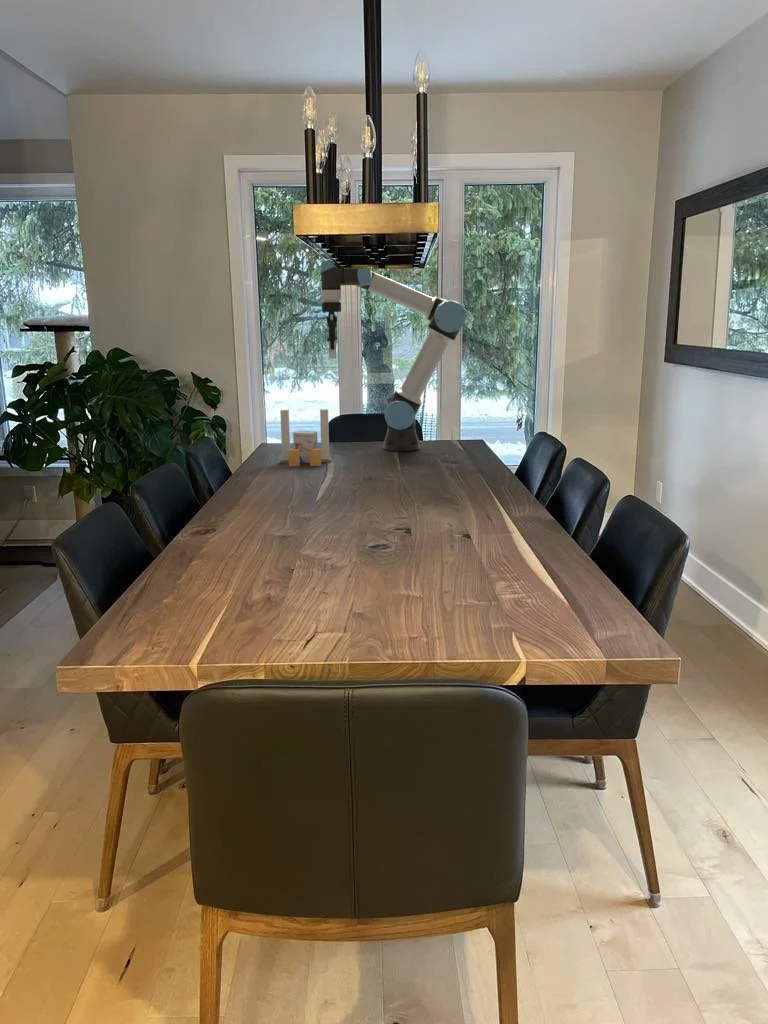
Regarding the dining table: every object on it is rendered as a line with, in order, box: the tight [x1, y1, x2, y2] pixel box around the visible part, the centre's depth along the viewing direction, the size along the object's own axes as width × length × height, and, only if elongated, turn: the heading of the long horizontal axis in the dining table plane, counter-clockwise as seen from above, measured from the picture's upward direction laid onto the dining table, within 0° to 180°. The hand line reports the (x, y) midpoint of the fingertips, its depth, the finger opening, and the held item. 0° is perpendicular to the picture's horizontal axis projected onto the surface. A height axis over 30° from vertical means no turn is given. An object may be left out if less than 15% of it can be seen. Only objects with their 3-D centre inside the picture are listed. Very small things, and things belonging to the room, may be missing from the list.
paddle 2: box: [309, 448, 322, 467], centre depth 289 cm, size 4×3×6 cm
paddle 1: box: [288, 448, 301, 467], centre depth 289 cm, size 4×3×6 cm
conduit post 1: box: [279, 409, 291, 464], centre depth 293 cm, size 4×4×20 cm
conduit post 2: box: [319, 408, 332, 463], centre depth 294 cm, size 4×4×20 cm
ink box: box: [292, 429, 319, 464], centre depth 295 cm, size 9×5×12 cm, turn 73°
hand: (332, 357), depth 302 cm, fingers open, 13 cm apart
